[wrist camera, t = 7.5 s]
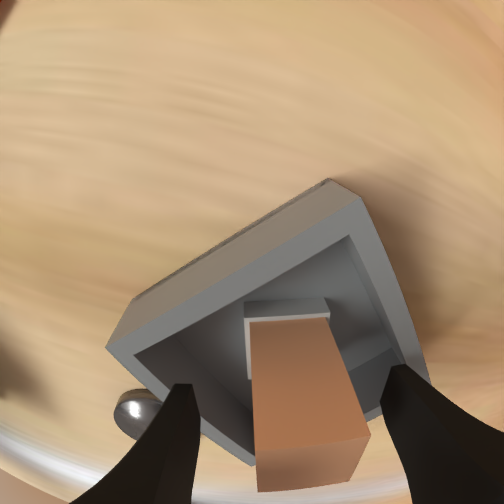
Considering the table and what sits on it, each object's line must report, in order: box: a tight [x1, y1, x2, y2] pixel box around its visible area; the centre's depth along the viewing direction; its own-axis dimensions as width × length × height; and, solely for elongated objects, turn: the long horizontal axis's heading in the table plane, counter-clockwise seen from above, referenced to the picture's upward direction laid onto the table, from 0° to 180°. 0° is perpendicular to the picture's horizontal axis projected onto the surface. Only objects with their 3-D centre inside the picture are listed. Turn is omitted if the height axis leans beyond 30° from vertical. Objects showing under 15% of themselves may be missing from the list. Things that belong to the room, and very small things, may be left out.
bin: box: [105, 178, 431, 466], centre depth 12 cm, size 10×10×4 cm
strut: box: [244, 297, 371, 492], centre depth 10 cm, size 3×3×7 cm
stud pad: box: [114, 389, 163, 440], centre depth 16 cm, size 5×5×1 cm
